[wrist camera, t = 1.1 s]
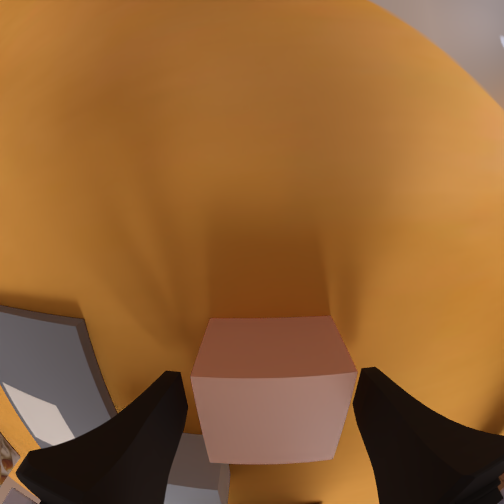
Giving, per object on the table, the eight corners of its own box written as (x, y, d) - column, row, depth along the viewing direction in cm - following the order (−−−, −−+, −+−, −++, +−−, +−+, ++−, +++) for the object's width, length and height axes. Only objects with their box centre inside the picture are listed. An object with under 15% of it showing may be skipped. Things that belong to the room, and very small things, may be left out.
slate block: (230, 473, 15) (225, 518, 11) (161, 465, 15) (149, 506, 11) (224, 434, 13) (217, 490, 10) (143, 424, 14) (123, 473, 10)
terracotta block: (318, 398, 13) (332, 459, 9) (220, 400, 13) (210, 462, 9) (329, 314, 11) (357, 371, 7) (210, 316, 11) (190, 376, 8)
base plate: (154, 483, 16) (152, 490, 15) (47, 446, 16) (43, 451, 15) (83, 319, 12) (75, 326, 11) (-27, 299, 12) (-33, 303, 11)
